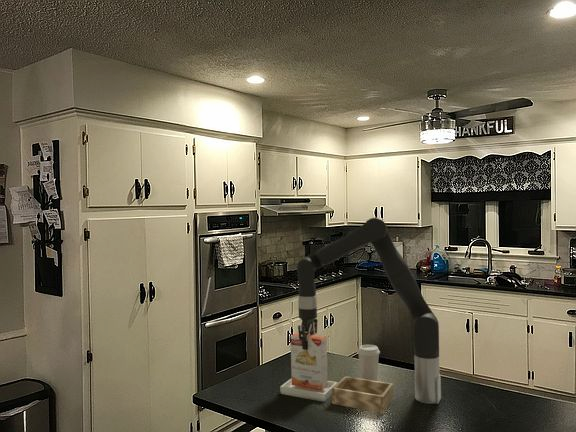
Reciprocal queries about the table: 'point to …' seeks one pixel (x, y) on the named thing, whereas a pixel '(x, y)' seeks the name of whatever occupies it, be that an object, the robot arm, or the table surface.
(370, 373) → the coffee cup
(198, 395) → the table surface
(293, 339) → the cracker box
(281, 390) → the white tray
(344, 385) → the oak holder
